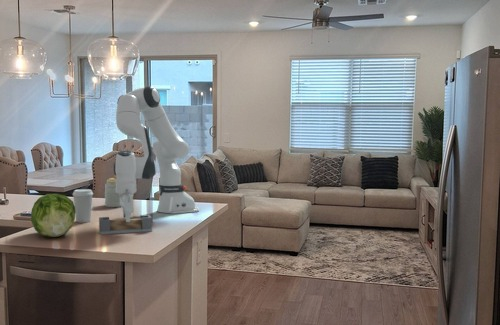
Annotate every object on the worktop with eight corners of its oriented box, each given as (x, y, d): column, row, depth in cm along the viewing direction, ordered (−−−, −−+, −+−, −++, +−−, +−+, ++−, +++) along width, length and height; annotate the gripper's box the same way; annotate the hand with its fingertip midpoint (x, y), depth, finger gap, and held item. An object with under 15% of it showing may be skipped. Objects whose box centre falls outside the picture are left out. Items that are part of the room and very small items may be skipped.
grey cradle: (149, 227, 229) (149, 214, 229) (152, 231, 223) (152, 217, 222) (99, 230, 222) (99, 217, 221) (100, 234, 215) (99, 220, 215)
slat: (145, 226, 227) (145, 218, 226) (146, 228, 224) (146, 219, 223) (103, 229, 221) (103, 220, 220) (104, 230, 218) (104, 221, 217)
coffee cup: (74, 224, 235) (73, 192, 234) (71, 220, 244) (70, 189, 243) (95, 222, 240) (95, 191, 239) (91, 218, 248) (91, 188, 247)
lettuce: (28, 224, 195) (69, 195, 201) (16, 205, 213) (55, 179, 219) (54, 256, 204) (93, 227, 210) (41, 235, 222) (77, 209, 229)
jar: (133, 205, 289) (133, 174, 287) (116, 208, 278) (115, 176, 276) (117, 202, 296) (116, 172, 294) (99, 205, 285) (99, 174, 283)
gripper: (136, 191, 212) (137, 223, 213) (130, 185, 231) (131, 214, 233) (121, 192, 210) (121, 224, 211) (116, 185, 229) (117, 215, 230)
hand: (126, 219), depth 222 cm, fingers open, 8 cm apart
